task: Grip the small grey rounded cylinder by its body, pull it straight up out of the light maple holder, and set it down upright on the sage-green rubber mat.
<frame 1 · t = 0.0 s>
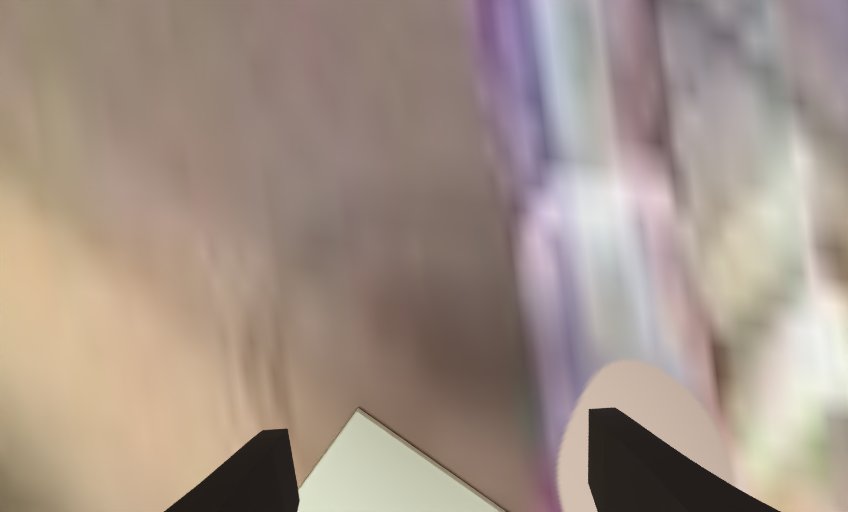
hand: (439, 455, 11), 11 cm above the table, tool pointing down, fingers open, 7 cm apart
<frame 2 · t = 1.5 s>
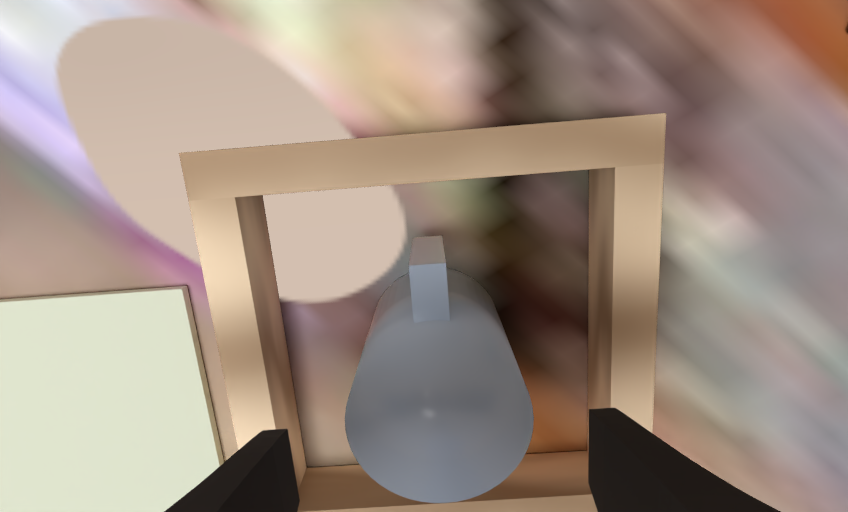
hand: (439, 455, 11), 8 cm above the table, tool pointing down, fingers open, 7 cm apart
grey rounded cylinder: (435, 344, 16), in the maple holder
sage mat: (84, 419, 20), on the table
maple holder: (435, 328, 19), on the table
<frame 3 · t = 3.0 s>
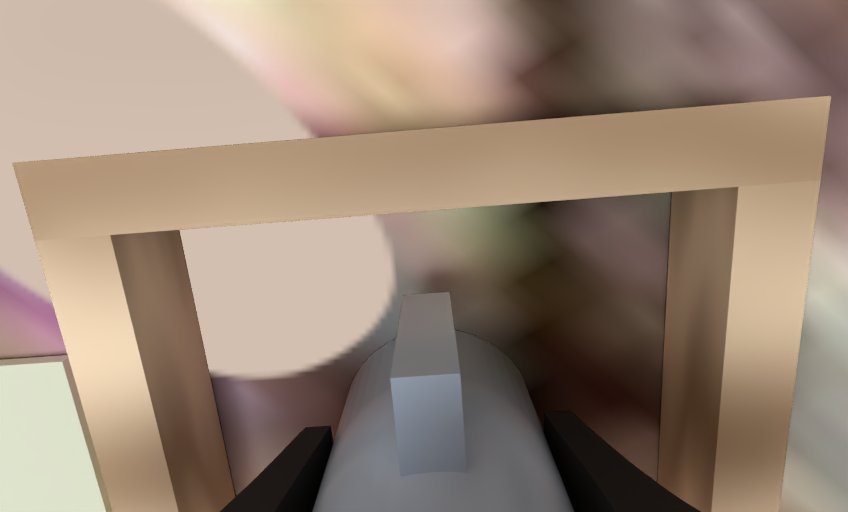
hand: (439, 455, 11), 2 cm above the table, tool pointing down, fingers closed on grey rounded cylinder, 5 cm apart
grey rounded cylinder: (438, 470, 10), in the maple holder, touching gripper
maple holder: (438, 414, 13), on the table
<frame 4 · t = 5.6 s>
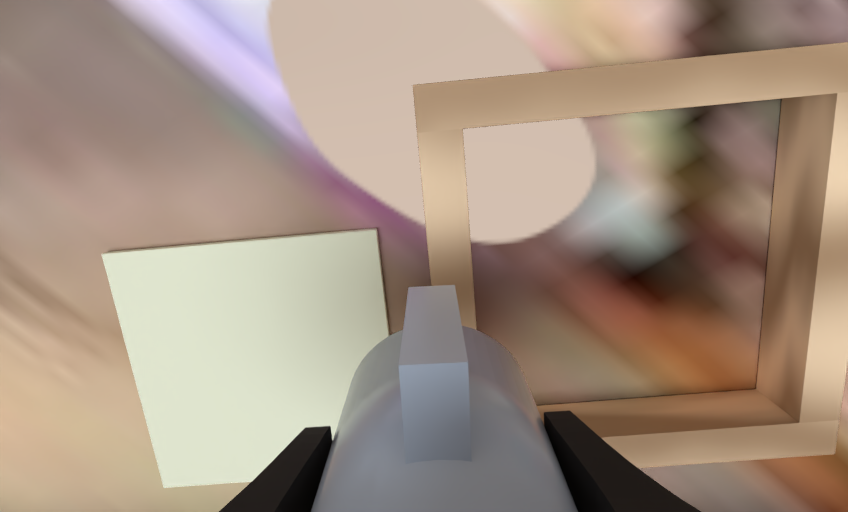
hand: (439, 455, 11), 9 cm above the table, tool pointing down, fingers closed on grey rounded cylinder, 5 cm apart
grey rounded cylinder: (440, 461, 10), point 10 cm above the table, touching gripper
sage mat: (264, 364, 21), on the table
maple holder: (616, 267, 19), on the table
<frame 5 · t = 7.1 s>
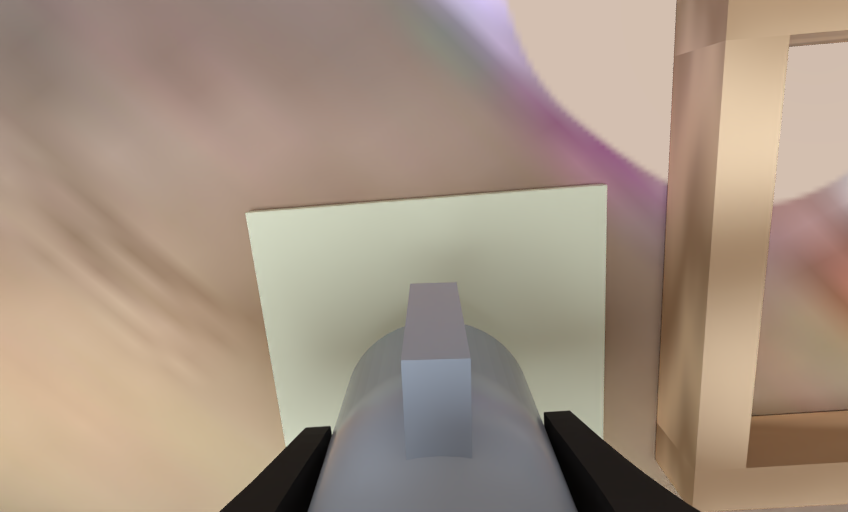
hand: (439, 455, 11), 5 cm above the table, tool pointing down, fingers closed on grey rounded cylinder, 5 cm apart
grey rounded cylinder: (439, 459, 10), point 6 cm above the table, touching gripper
sage mat: (437, 358, 16), on the table
when the fingers open (4 cm above the table, at t = 8.4 s): grey rounded cylinder drops 1 cm, resting on sage mat.
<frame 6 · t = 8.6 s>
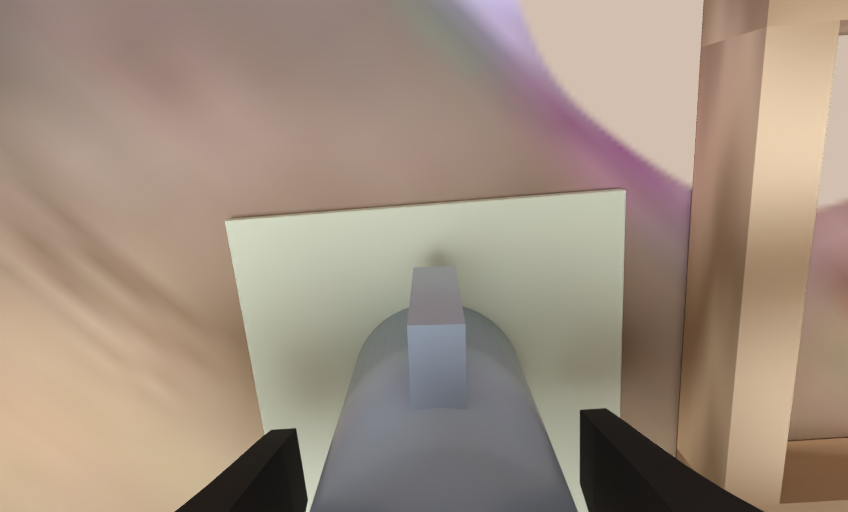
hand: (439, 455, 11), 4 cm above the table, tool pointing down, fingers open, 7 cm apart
grey rounded cylinder: (438, 421, 11), on the sage mat
sage mat: (437, 379, 15), on the table
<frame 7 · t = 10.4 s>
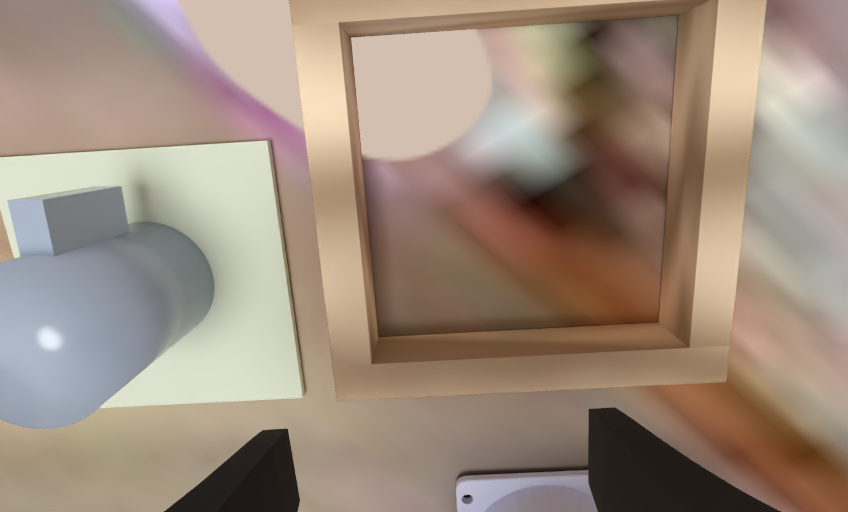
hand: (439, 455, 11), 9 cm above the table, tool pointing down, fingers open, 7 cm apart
grey rounded cylinder: (97, 287, 16), on the sage mat
sage mat: (159, 282, 20), on the table
maple holder: (515, 189, 19), on the table
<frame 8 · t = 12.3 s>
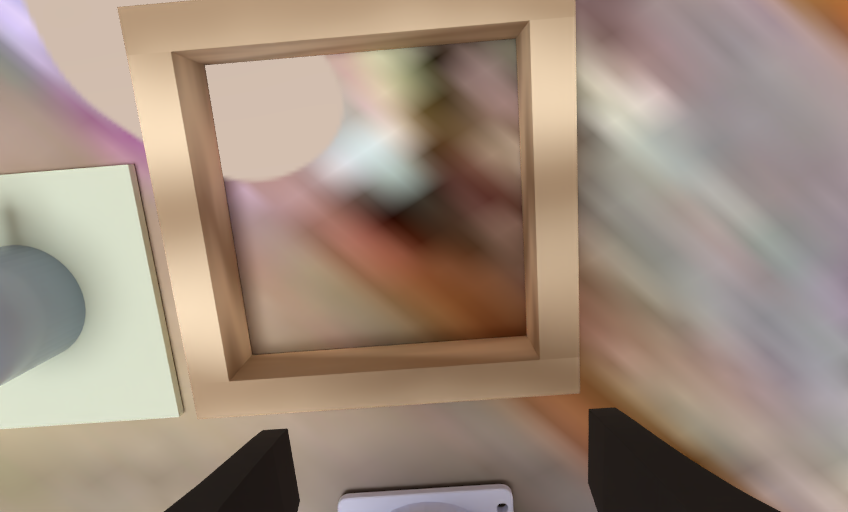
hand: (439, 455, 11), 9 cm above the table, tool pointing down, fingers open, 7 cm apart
sage mat: (34, 304, 21), on the table
maple holder: (374, 207, 20), on the table
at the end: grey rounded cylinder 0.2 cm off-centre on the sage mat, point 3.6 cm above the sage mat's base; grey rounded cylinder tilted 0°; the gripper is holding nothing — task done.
